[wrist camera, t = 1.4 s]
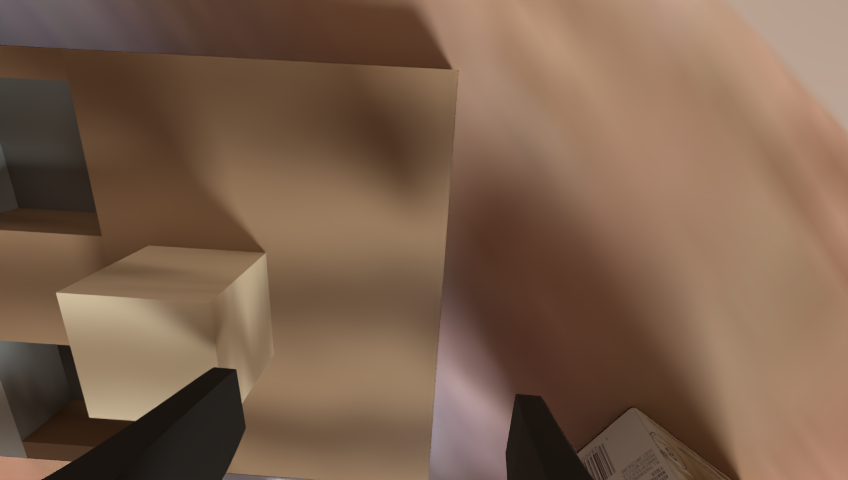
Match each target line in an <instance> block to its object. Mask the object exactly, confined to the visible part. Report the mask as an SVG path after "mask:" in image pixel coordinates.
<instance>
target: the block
mask: <svg viewBox="0 0 848 480" xmlns="http://www.w3.org/2000/svg"><path fill="white" fill-rule="evenodd" d="M56 295H57V299H58V303H59V306H60V310H61V314H62V318H63V321H64V325H65V329H66V332H67V336H68V340H69V344H70V347H71V351H72V355H73V358H74V362H75V366H76V370H77V373H78V377H79V381H80V385H81V388H82V392H83V396H84V399H85V403H86V407H87V411H88V414H89V418H102V419H116V420H130V421H136V420H138V419H139V418H140V417H142V416H143V415H145V414H146V413H148V412H149V411H151V410H152V409H154V408H155V407H156V406H158V405H159V404H161V403H162V402H164V401H165V400H167V399H168V398H169V397H171V396H172V395H174V394H175V393H177V392H178V391H179V390H181V389H182V388H184V387H185V386H187V385H188V384H189V383H191V382H192V381H194V380H195V379H197V378H198V377H200V376H201V375H202V374H204V373H205V372H207V371H209V370H210V369H212V368H213V367H218V368H229V369H236V370H237V376H238V382H239V388H240V394H241V400H242V403H243V401H244V400H245V398H246V397H247V395H248V394H249V392H250V390H251V389H252V387H253V386H254V384H255V383H256V381H257V380H258V378H259V377H260V375H261V373H262V372H263V370H264V369H265V367H266V366H267V364H268V363H269V361H270V360H271V358H272V357H273V355H274V349H273V336H272V323H271V311H270V298H269V286H268V273H267V260H266V253H259V252H244V251H228V250H212V249H196V248H180V247H165V246H147V247H145V248H143V249H141V250H139V251H137V252H135V253H133V254H131V255H129V256H127V257H125V258H123V259H121V260H119V261H117V262H115V263H113V264H111V265H109V266H107V267H105V268H103V269H101V270H99V271H97V272H95V273H94V274H92V275H90V276H88V277H86V278H84V279H82V280H80V281H78V282H76V283H74V284H72V285H70V286H68V287H66V288H64V289H62V290H60V291H58V292H56Z"/></svg>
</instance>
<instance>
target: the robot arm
mask: <svg viewBox="0 0 848 480" xmlns="http://www.w3.org/2000/svg"><path fill="white" fill-rule="evenodd" d="M245 429H246V425H245V419H244V412H243V406H242V400H241V394H240V388H239V382H238V376H237V370H236V369H229V368H218V367H213V368H212V369H210V370H209V371H207V372H205V373H204V374H202V375H201V376H200V377H198V378H197V379H195V380H194V381H192V382H191V383H189V384H188V385H187V386H185V387H184V388H182V389H181V390H179V391H178V392H177V393H175V394H174V395H172V396H171V397H169V398H168V399H167V400H165V401H164V402H162V403H161V404H159V405H158V406H156V407H155V408H154V409H152V410H151V411H149V412H148V413H146V414H145V415H143V416H142V417H140V418H139V419H138V420H136V421H135V422H133V423H132V424H130V425H129V426H127V427H126V428H124V429H123V430H121V431H120V432H118V433H116V434H115V435H113V436H112V437H110V438H109V439H107V440H105V441H104V442H102V443H101V444H99V445H98V446H96V447H95V448H93V449H91V450H90V451H88V452H87V453H85V454H84V455H82V456H81V457H79V458H77V459H76V460H74V461H72V462H71V463H69V464H68V465H66V466H64V467H63V468H61V469H59V470H57V471H56V472H54V473H52V474H51V475H49V476H47V477H45V478H44V479H42V480H317V479H303V478H289V477H276V476H262V475H249V474H235V473H226V472H227V470H228V468H229V466H230V464H231V462H232V459H233V457H234V455H235V453H236V451H237V448H238V446H239V444H240V441H241V439H242V436H243V434H244V432H245ZM506 466H507V480H594V479H593V477H592V476H591V474H590V473H589V471H588V470H587V468H586V467H585V466H584V464H583V463H582V461H581V460H580V458H579V457H578V455H577V454H576V452H575V451H574V449H573V448H572V446H571V444H570V443H569V441H568V440H567V438H566V437H565V435H564V433H563V432H562V430H561V428H560V427H559V425H558V424H557V422H556V420H555V419H554V417H553V415H552V413H551V412H550V410H549V408H548V407H547V405H546V403H545V401H544V400H543V399H542V398H541V396H532V395H521V394H516V396H515V401H514V407H513V413H512V419H511V425H510V431H509V436H508V442H507V448H506Z"/></svg>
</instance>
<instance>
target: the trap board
mask: <svg viewBox="0 0 848 480" xmlns="http://www.w3.org/2000/svg"><path fill="white" fill-rule="evenodd" d="M458 73H459V70H449V69H431V68H413V67H394V66H376V65H357V64H339V63H321V62H302V61H284V60H265V59H247V58H228V57H210V56H192V55H173V54H155V53H136V52H118V51H99V50H81V49H63V48H44V47H26V46H7V45H0V456H5V457H19V458H32V459H46V460H59V461H74V460H76V459H77V458H79V457H81V456H82V455H84V454H85V453H87V452H88V451H90V450H91V449H93V448H95V447H96V446H98V445H99V444H101V443H102V442H104V441H105V440H107V439H109V438H110V437H112V436H113V435H115V434H116V433H118V432H120V431H121V430H123V429H124V428H126V427H127V426H129V425H130V424H132V423H133V422H135V421H130V420H116V419H102V418H89V414H88V411H87V407H86V403H85V399H84V396H83V392H82V388H81V385H80V381H79V377H78V373H77V370H76V366H75V362H74V358H73V355H72V351H71V347H70V344H69V340H68V336H67V332H66V329H65V325H64V321H63V318H62V314H61V310H60V306H59V303H58V299H57V295H56V292H58V291H60V290H62V289H64V288H66V287H68V286H70V285H72V284H74V283H76V282H78V281H80V280H82V279H84V278H86V277H88V276H90V275H92V274H94V273H95V272H97V271H99V270H101V269H103V268H105V267H107V266H109V265H111V264H113V263H115V262H117V261H119V260H121V259H123V258H125V257H127V256H129V255H131V254H133V253H135V252H137V251H139V250H141V249H143V248H145V247H147V246H165V247H180V248H196V249H212V250H228V251H244V252H259V253H266V260H267V273H268V286H269V298H270V311H271V323H272V336H273V349H274V355H273V357H272V358H271V360H270V361H269V363H268V364H267V366H266V367H265V369H264V370H263V372H262V373H261V375H260V377H259V378H258V380H257V381H256V383H255V384H254V386H253V387H252V389H251V390H250V392H249V394H248V395H247V397H246V398H245V400H244V401H243V403H242V406H243V412H244V419H245V425H246V429H245V432H244V434H243V436H242V439H241V441H240V444H239V446H238V448H237V451H236V453H235V455H234V457H233V459H232V462H231V464H230V466H229V468H228V470H227V472H226V473H235V474H249V475H262V476H276V477H289V478H303V479H317V480H428V476H429V463H430V449H431V436H432V423H433V409H434V396H435V382H436V369H437V355H438V342H439V328H440V315H441V301H442V288H443V275H444V261H445V248H446V234H447V221H448V207H449V194H450V180H451V167H452V153H453V140H454V126H455V113H456V100H457V86H458Z"/></svg>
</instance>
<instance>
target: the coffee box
mask: <svg viewBox="0 0 848 480" xmlns="http://www.w3.org/2000/svg"><path fill="white" fill-rule="evenodd" d="M577 455H578V457H579V458H580V460H581V461H582V463H583V464H584V466H585V467H586V468H587V470H588V471H589V473H590V474H591V476H592V477H593V479H594V480H731V479H730V478H728V477H727V476H726V475H724V474H723V473H722V472H720V471H719V470H718V469H716V468H715V467H714V466H712V465H711V464H710V463H708V462H707V461H706V460H704V459H703V458H702V457H700V456H699V455H698V454H696V453H695V452H694V451H692V450H691V449H690V448H688V447H687V446H686V445H684V444H683V443H682V442H680V441H679V440H678V439H676V438H675V437H674V436H672V435H671V434H670V433H669V432H667V431H666V430H665V429H663V428H662V427H661V426H659V425H658V424H657V423H655V422H654V421H653V420H651V419H650V418H649V417H647V416H646V415H645V414H643V413H642V412H641V411H639V410H638V409H636V408H630V409H629V410H628V411H627V412H625V413H624V414H623V415H622V416H621V417H619V418H618V419H617V420H616V421H615V422H613V423H612V424H611V425H610V426H609V427H608V428H606V429H605V430H604V431H603V432H602V433H601V434H599V435H598V436H597V437H596V438H595V439H594V440H592V441H591V442H590V443H589V444H588V445H587V446H585V447H584V448H583V449H582V450H581V451H580V452H578V453H577Z"/></svg>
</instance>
